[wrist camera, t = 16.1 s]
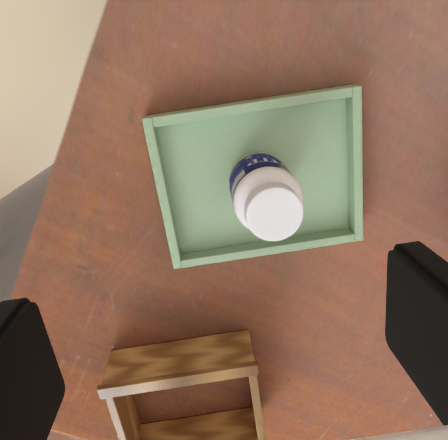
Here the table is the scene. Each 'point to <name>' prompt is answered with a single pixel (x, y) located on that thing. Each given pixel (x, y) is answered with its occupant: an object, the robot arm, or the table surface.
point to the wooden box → (179, 377)
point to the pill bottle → (266, 196)
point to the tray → (251, 143)
